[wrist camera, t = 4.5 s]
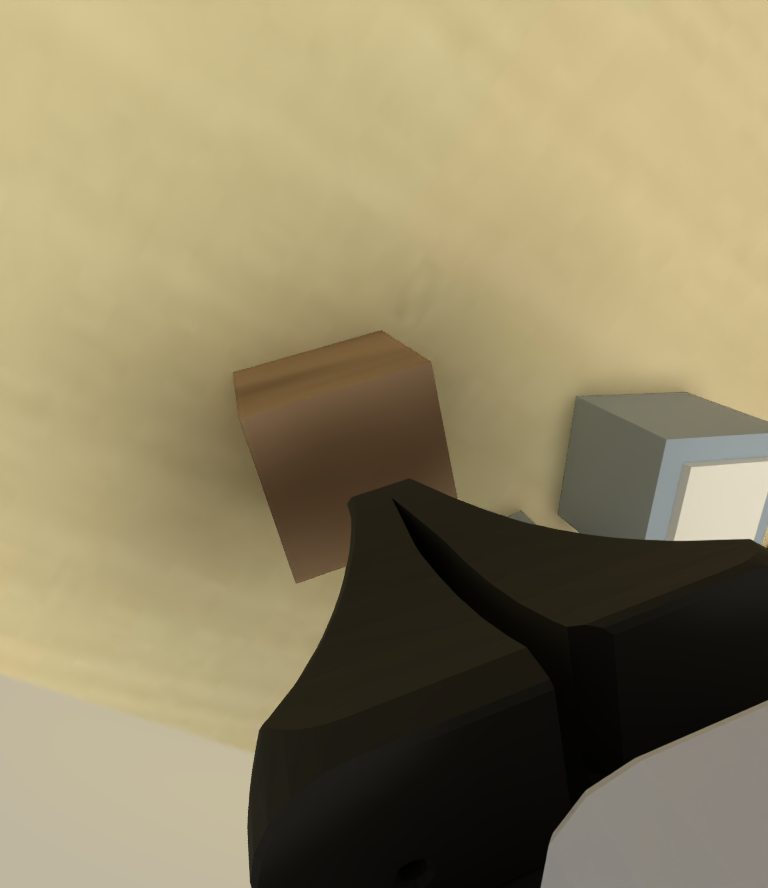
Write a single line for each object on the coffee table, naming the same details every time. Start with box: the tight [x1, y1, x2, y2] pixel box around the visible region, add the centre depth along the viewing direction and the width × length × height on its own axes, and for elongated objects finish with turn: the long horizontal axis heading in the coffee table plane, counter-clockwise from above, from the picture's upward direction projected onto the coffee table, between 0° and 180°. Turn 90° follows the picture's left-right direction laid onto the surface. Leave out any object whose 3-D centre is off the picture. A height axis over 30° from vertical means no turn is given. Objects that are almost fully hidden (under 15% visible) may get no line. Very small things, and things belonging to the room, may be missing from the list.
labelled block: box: [558, 392, 768, 545], centre depth 19 cm, size 4×4×5 cm
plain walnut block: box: [233, 330, 457, 584], centre depth 16 cm, size 4×4×4 cm
